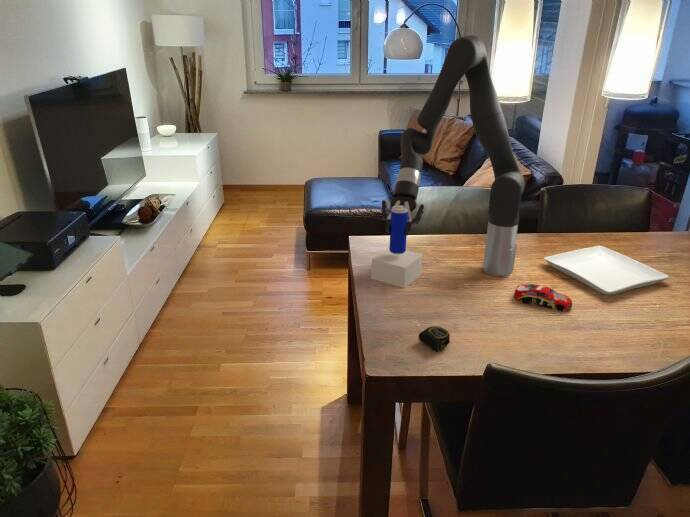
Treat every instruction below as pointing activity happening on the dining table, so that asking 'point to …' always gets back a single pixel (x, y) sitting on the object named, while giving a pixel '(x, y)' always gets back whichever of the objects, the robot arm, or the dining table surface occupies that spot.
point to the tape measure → (435, 337)
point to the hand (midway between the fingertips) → (397, 233)
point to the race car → (542, 297)
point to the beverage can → (398, 229)
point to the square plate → (605, 269)
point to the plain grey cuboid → (396, 267)
